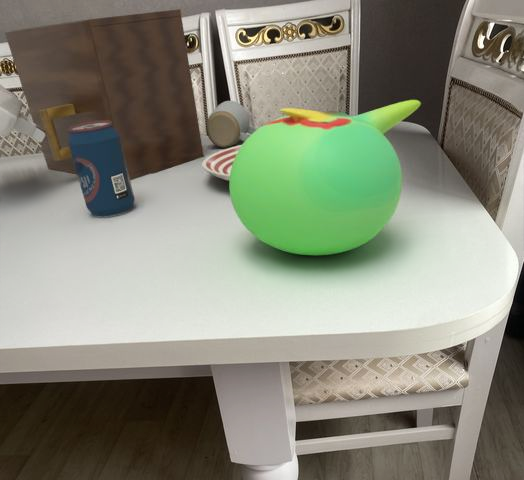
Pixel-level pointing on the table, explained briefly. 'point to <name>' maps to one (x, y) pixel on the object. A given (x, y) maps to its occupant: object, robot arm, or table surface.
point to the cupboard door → (59, 84)
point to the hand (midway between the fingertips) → (43, 137)
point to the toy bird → (319, 179)
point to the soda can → (101, 168)
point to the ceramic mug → (229, 124)
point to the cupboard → (148, 88)
